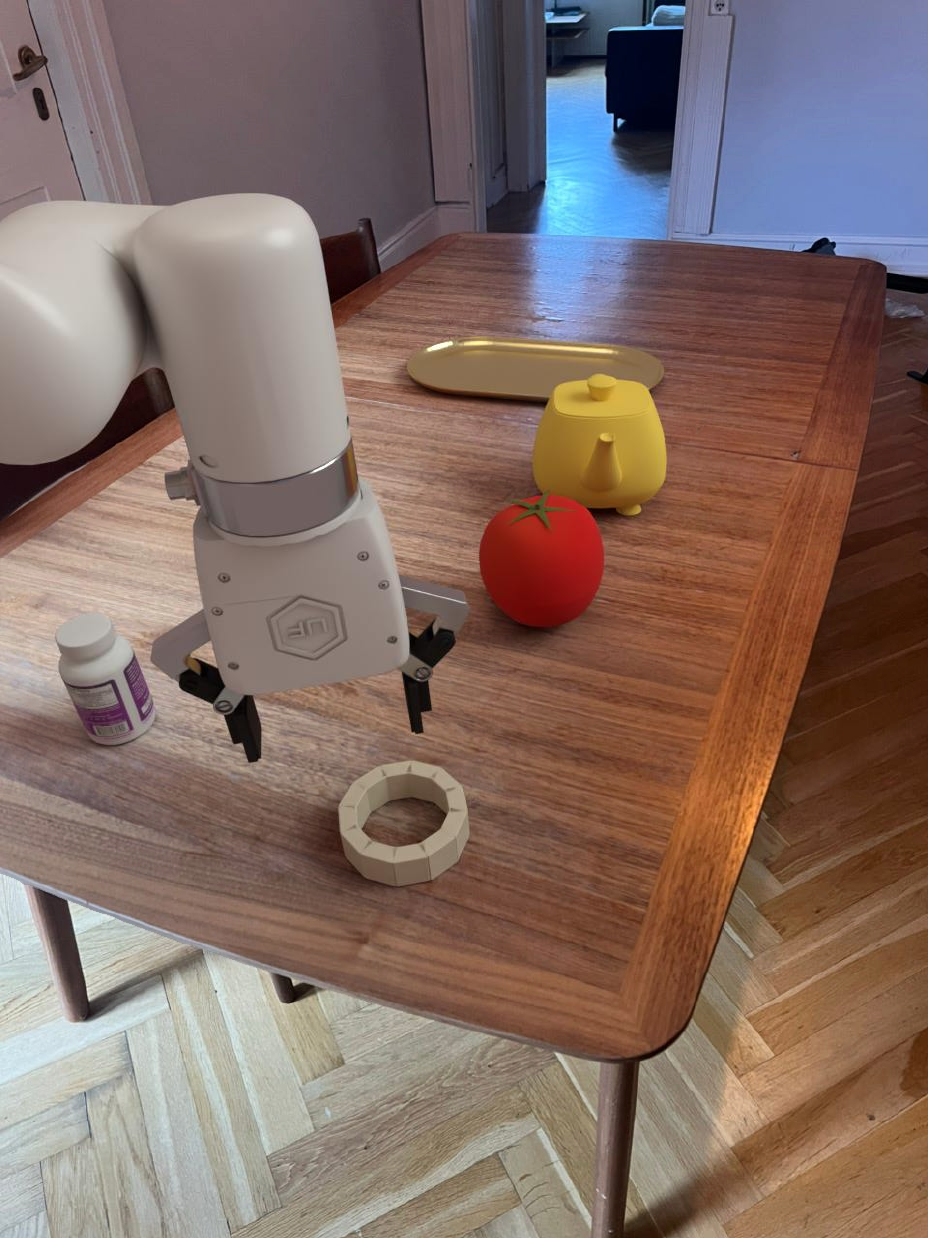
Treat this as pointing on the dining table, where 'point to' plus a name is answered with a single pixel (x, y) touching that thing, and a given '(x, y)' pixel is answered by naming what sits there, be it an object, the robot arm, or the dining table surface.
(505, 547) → the tomato
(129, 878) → the dining table surface
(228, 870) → the dining table surface
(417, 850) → the tape roll
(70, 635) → the pill bottle
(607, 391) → the teapot
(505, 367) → the serving platter
